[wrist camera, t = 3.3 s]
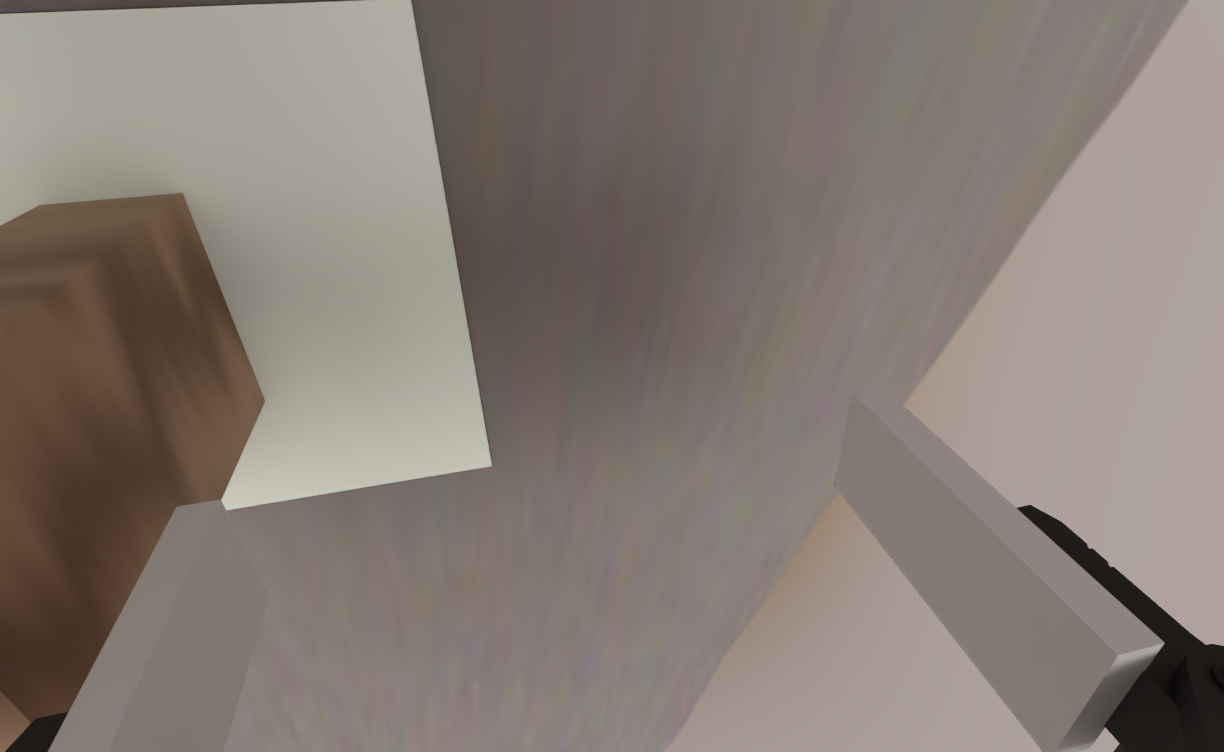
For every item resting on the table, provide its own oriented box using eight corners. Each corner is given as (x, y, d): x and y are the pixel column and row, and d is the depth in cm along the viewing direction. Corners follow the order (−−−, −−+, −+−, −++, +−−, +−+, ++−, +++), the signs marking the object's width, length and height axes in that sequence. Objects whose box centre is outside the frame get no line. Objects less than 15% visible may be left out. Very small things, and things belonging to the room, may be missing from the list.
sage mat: (-1003, 51, 14) (-1039, 52, 13) (411, -2, 19) (410, -2, 18) (-320, 593, 23) (-331, 602, 23) (491, 460, 28) (491, 466, 28)
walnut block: (39, 205, 19) (-603, 541, 7) (182, 192, 20) (-201, 483, 8) (150, 417, 23) (-146, 842, 12) (265, 401, 24) (93, 787, 12)
